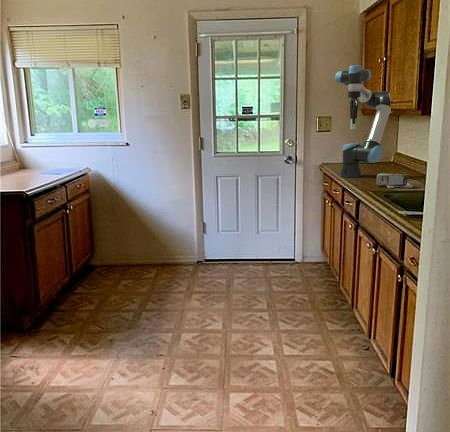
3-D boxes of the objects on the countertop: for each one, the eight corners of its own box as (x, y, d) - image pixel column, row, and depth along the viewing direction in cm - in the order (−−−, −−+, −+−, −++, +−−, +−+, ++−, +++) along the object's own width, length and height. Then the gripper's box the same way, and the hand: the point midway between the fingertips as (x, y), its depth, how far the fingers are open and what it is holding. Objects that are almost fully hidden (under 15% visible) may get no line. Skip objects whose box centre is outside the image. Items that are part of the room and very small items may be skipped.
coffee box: (376, 184, 281) (402, 187, 271) (376, 174, 279) (403, 176, 270) (380, 182, 288) (407, 184, 279) (381, 172, 286) (407, 174, 277)
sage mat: (378, 182, 294) (378, 181, 294) (401, 182, 294) (401, 180, 294) (388, 187, 276) (388, 186, 275) (412, 187, 275) (412, 185, 275)
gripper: (345, 91, 292) (344, 128, 298) (351, 90, 280) (349, 129, 285) (357, 91, 292) (356, 128, 298) (363, 90, 279) (361, 129, 285)
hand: (353, 129), depth 291 cm, fingers closed
